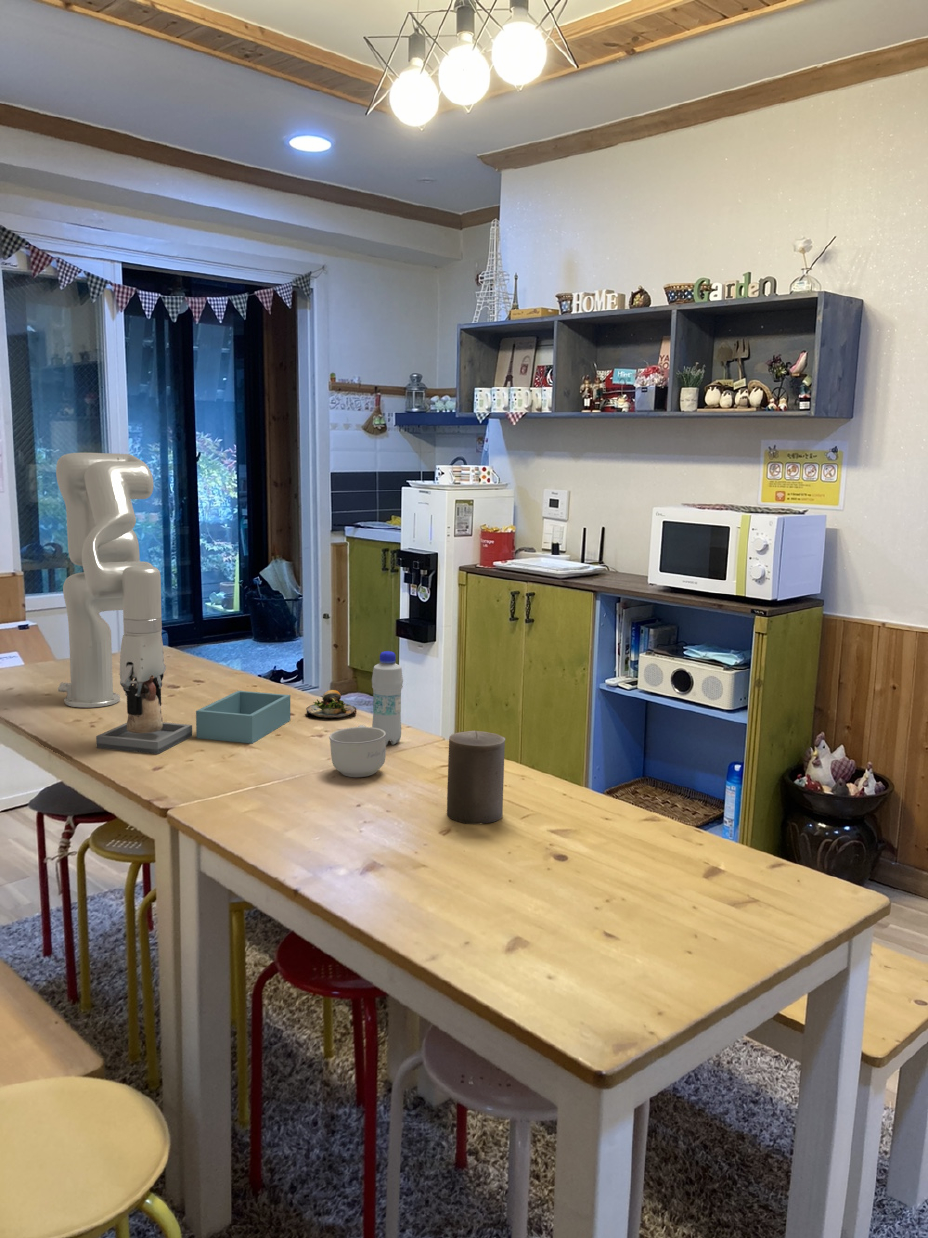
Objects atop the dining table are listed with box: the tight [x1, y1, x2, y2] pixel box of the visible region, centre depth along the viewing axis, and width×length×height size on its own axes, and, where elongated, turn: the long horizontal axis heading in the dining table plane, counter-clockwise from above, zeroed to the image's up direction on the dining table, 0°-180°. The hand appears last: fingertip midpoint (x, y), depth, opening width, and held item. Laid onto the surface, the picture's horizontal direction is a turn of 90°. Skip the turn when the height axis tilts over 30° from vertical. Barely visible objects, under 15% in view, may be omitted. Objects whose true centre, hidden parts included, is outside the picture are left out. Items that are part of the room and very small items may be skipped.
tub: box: [195, 690, 291, 744], centre depth 221 cm, size 13×20×6 cm, turn 166°
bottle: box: [371, 650, 404, 746], centre depth 212 cm, size 7×7×20 cm
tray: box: [95, 721, 193, 755], centre depth 209 cm, size 14×14×2 cm
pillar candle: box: [446, 730, 506, 825], centre depth 171 cm, size 10×10×15 cm
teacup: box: [328, 724, 387, 778], centre depth 194 cm, size 14×11×8 cm
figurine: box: [126, 675, 164, 733], centre depth 208 cm, size 7×7×12 cm
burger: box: [305, 685, 357, 719], centre depth 235 cm, size 12×12×8 cm
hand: (144, 709), depth 208 cm, fingers closed on figurine, 6 cm apart
